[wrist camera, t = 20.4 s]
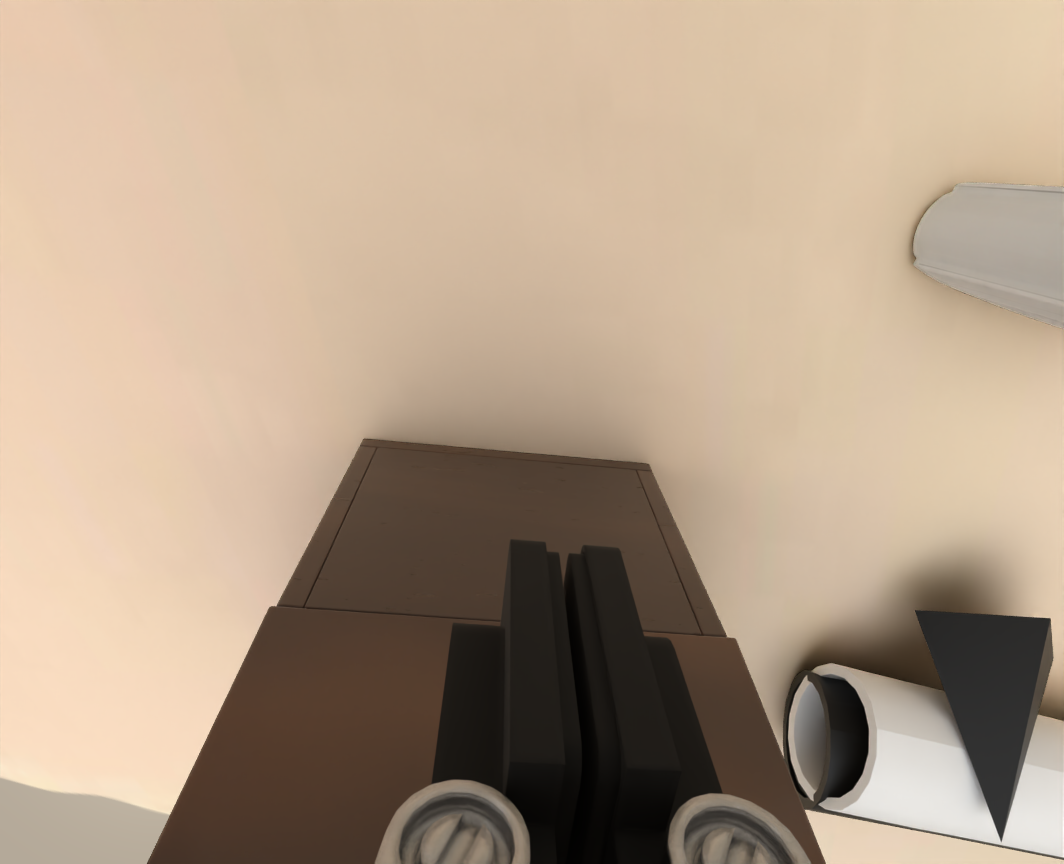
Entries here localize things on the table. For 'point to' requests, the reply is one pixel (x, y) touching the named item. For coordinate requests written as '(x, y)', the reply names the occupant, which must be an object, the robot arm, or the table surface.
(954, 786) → the curved black white bar
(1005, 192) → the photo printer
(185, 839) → the lid
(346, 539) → the chest
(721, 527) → the table surface
